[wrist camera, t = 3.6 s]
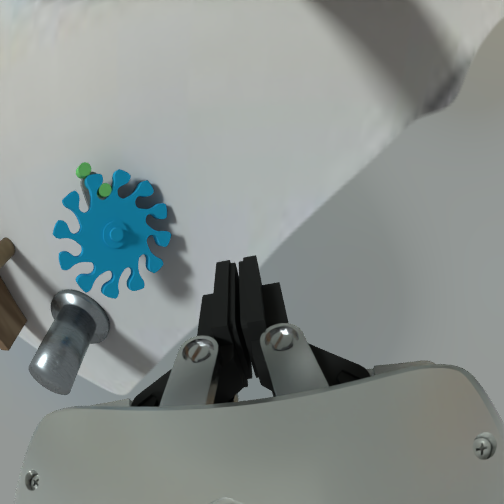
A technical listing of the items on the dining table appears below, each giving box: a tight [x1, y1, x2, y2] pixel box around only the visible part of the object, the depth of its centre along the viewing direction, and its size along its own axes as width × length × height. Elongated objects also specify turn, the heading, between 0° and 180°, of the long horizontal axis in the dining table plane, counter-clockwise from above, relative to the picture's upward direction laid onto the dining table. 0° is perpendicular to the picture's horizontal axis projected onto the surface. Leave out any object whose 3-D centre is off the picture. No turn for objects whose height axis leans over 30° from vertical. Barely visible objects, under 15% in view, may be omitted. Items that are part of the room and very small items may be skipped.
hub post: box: [29, 290, 110, 395], centre depth 25 cm, size 8×8×10 cm
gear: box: [53, 162, 171, 299], centre depth 22 cm, size 11×6×10 cm
